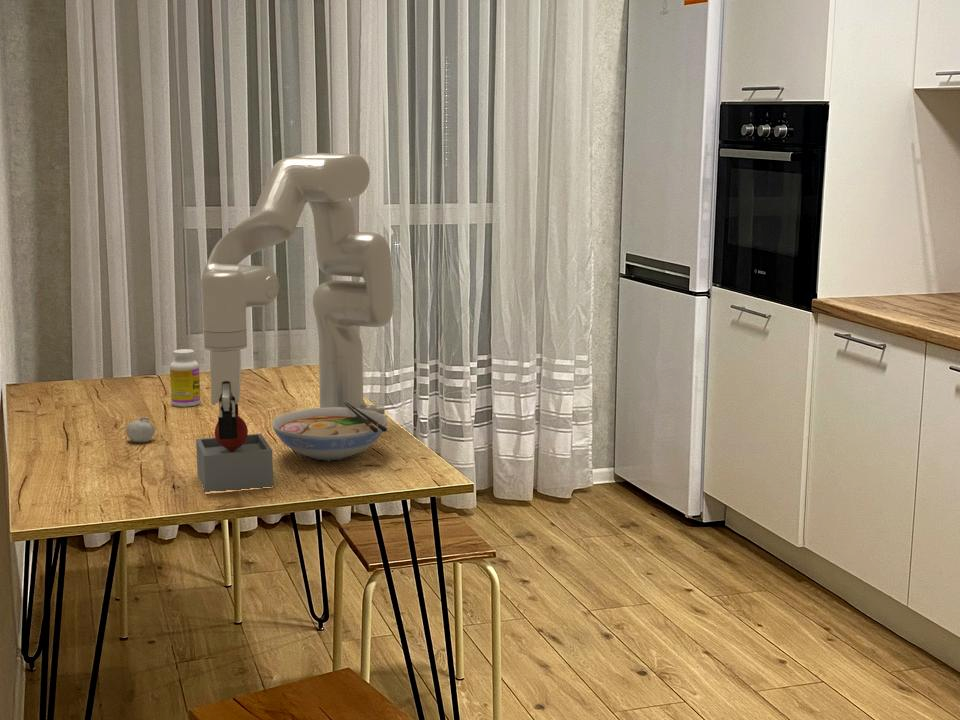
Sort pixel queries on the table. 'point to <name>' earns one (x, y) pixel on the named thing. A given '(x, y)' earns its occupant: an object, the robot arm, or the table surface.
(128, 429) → the garlic
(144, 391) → the table surface
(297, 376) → the table surface
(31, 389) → the table surface
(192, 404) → the supplement bottle
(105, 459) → the table surface
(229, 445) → the onion
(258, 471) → the grey hollow box
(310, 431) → the ramen bowl
